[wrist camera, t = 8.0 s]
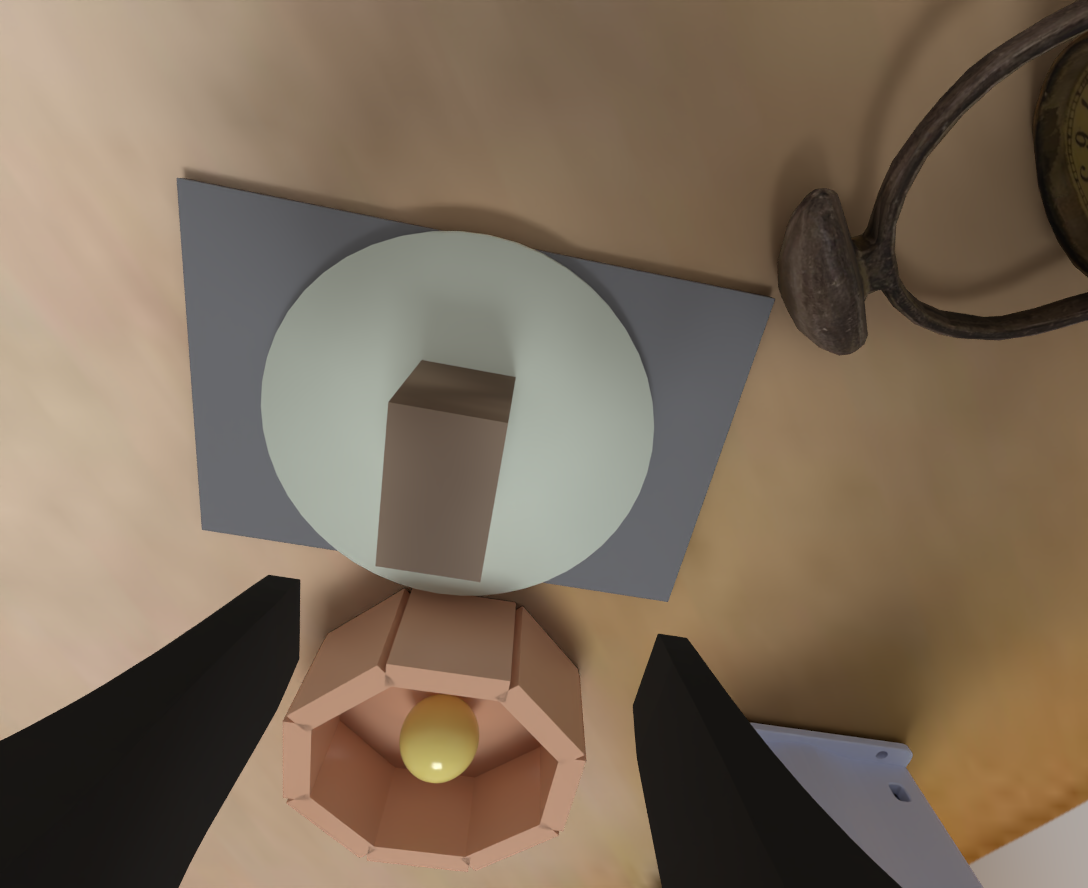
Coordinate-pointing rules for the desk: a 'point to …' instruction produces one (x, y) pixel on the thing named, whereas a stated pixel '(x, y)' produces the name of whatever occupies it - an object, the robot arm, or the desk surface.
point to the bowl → (436, 733)
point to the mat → (331, 235)
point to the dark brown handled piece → (869, 260)
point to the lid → (457, 413)
